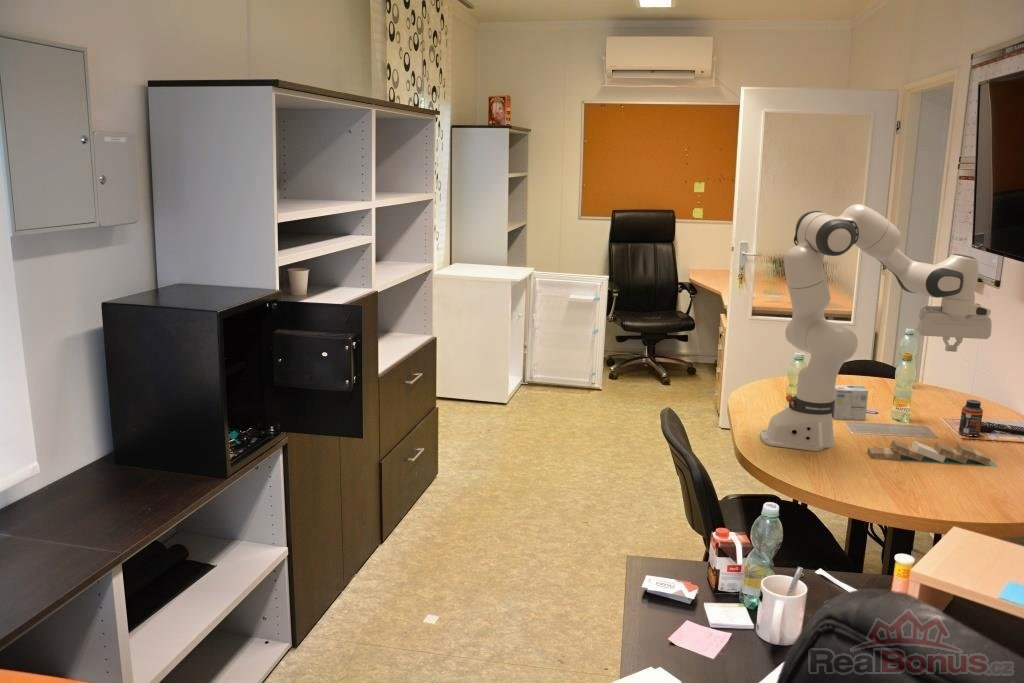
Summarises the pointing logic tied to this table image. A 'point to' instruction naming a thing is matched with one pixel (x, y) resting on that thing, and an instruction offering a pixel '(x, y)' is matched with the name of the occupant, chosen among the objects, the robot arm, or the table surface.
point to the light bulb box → (850, 402)
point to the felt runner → (946, 461)
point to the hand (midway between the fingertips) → (950, 351)
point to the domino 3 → (927, 451)
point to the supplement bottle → (971, 418)
